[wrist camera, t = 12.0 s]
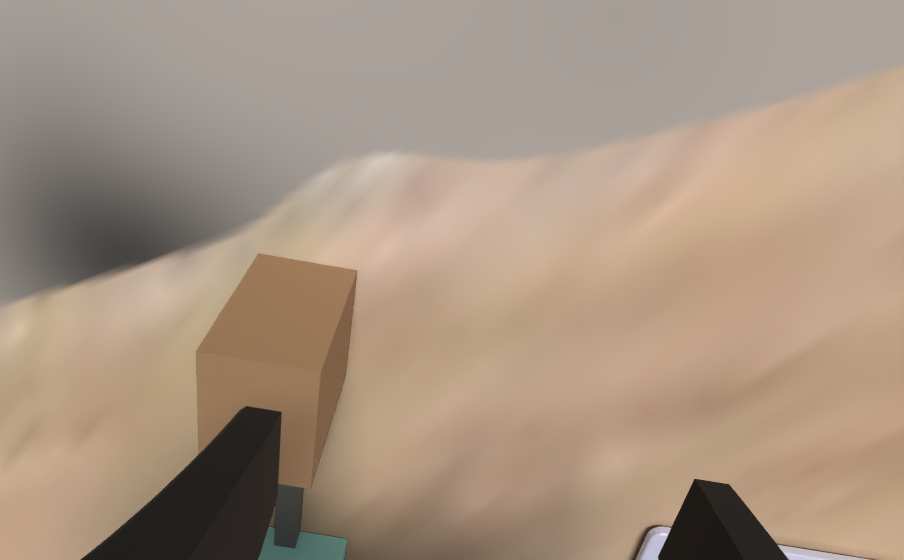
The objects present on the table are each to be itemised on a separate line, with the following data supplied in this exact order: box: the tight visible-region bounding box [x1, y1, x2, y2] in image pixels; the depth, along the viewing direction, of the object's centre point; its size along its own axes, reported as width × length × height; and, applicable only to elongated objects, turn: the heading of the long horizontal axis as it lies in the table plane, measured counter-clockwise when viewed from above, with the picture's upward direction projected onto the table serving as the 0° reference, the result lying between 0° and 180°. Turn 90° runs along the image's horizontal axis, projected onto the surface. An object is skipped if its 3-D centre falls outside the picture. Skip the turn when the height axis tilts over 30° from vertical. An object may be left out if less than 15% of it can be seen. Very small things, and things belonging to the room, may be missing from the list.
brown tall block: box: [196, 254, 357, 560], centre depth 23 cm, size 4×17×5 cm, turn 171°
